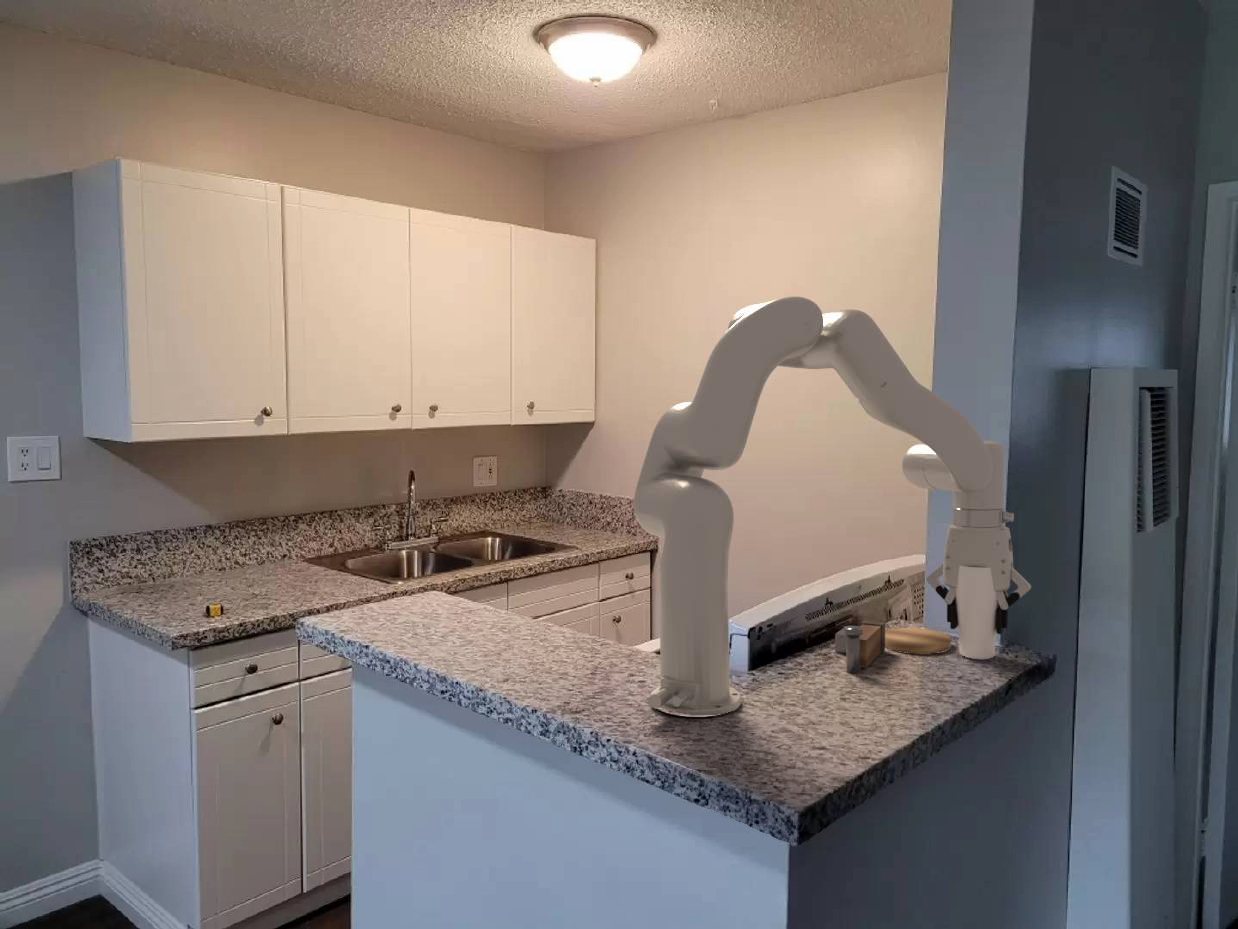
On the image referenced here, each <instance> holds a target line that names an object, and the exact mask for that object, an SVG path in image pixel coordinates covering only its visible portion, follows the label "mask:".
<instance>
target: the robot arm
mask: <svg viewBox="0 0 1238 929" xmlns="http://www.w3.org/2000/svg"><path fill="white" fill-rule="evenodd" d="M777 367H784V368H785V367H786V368H791V369H792V368H793V369H802V370H803V369H806V370H807V369H808V370H821V369H822V370H823V369H824V370H826V369H833V370H835V372H837V374H838V375H839V377H840V378H841V380H842V381H843V382H844V384H845V385H846V387H848V389H849V391H850V392H851V393H852V394H853V396H854V397H855V399H856V400H857V402H858V404H860V405H861V407H862V409H863V410H864V411H865V413H866V414H868V416H870V417H871V418H873V419H874V420H876V421H878V422H880V423H882V424H883V425H885V426H887V427H890V428H893V429H896V430H898V431H900V432H903V433H905V434H908V435H909V436H911V437H913V438H915V439H917V440H918V441H920V442H919V443H916V444H914V445H913V446H911V447H910V448H909V449H908V450H906V452H905V453H904V456H903V458H902V463H901V467H902V473H903V475H904V476H905V478H906V480H907V481H908V482H910V483H911V484H913V485H914V486H916V487H918V488H922V489H928V490H936V491H947V492H952V524H949V526H948V528H947V533H946V538H945V544H944V552H943V553H944V555H943V564H941V565H940V566H939V567H938V568H936V569H935V570H934V571H933V572H931V574H929V575H928V576H927V577H926V582H927V584H929V585H930V587H931V588H933V589H934V590H935V593H937V595H939V596H940V597H941V598H942V599H943V601H944V603H945V604H946V622H947V623H950V626H949V627H950V628H949V629H951V630H955V629H957V628H958V618H957V607H956V588H957V582H958V574H959V566H960V565H962V566H968V567H981V568H986V567H989V568H991V575H992V581H993V589H994V591H996V592H997V593H996V594H997V595H996V598H997V601H998V603H999V608H998V609H997V611H996V634H997V635H1002V634H1003V632H1004V631H1005V629H1008V627H1009V608H1010V607H1011V606H1012V605H1013V604H1015V603H1016V602H1017V601H1018V600H1019V599H1020V598H1022V597H1023V596H1025V594H1027V593H1028V592H1029V591H1030V590H1031V589H1032V584H1031V583H1029V582H1028V581H1027V580H1026V579H1025V577H1023V576H1022V574H1020V572H1018V571H1017V570H1016V569H1015V568H1014V556H1013V543H1012V537H1011V531H1010V528H1009V527H1007V526H1004V525H1005V524H1006V523H1009V522H1014V519H1015V518H1014V517H1015V514H1014V512H1009V511H1007V510H1005V499H1004V498H1005V497H1004V495H1005V449H1004V447H1003V445H1002V444H1001V443H1000V442H997V441H993V440H983V438H982V437H981V435H980V434H979V433H978V431H977V430H976V428H975V427H974V426H973V424H972V423H971V422H970V420H968V419H967V417H965V415H963V414H962V413H961V412H960V411H959V410H958V409H957V408H955V407H954V406H952V405H951V404H950V403H949V402H947V401H945V399H942V398H941V397H940V396H939V395H937V394H936V393H935V392H933V391H932V390H930V389H928V388H927V387H925V386H923V385H922V384H921V383H919V382H918V380H916V379H915V377H914V375H913V374H912V373H911V371H910V370H909V369H908V367H907V365H905V363H904V361H903V360H902V359H901V357H900V356H899V354H898V353H897V352H896V350H895V348H894V347H893V346H892V344H891V342H889V340H888V339H887V337H886V335H884V333H883V331H882V330H881V329H880V326H878V325H877V323H876V322H875V320H874V319H873V318H872V316H870V315H869V314H867V313H866V312H864V311H862V310H858V309H842V310H834V311H829V312H822V309H821V308H820V306H819V305H818V304H817V303H815V301H812V300H811V299H810V298H806V297H803V296H786V297H781V298H777V299H774V300H771V301H766V302H761V303H758V304H751V305H748V306H746V307H744V308H742V309H740V310H739V311H737V312H736V313H735V314H734V315H733V317H732V318H731V320H730V322H729V324H728V327H727V330H726V331H725V333H724V334H722V336H721V337H720V338H719V340H718V341H717V343H716V344H715V346H714V347H713V349H712V351H711V354H710V355H709V357H708V360H707V363H706V365H705V368H704V371H703V374H702V376H701V379H700V381H699V384H698V387H697V390H696V393H695V395H694V397H693V400H692V401H686V402H681V403H678V404H675V405H674V406H671V407H670V408H669V409H668V410H666V411H665V412H664V413H663V415H662V416H660V419H659V420H658V422H657V423H656V425H655V427H654V430H653V432H652V434H651V438H650V440H649V443H648V444H649V445H648V447H647V450H646V453H645V457H644V459H643V460H644V461H643V464H642V467H641V470H640V473H639V478H638V481H637V483H636V486H635V492H634V496H633V513H634V516H635V519H636V521H637V523H638V524H639V526H640V527H641V528H642V529H643V530H644V531H645V532H647V533H648V534H649V535H652V536H654V537H656V538H660V539H663V540H664V544H663V549H662V553H661V556H660V563H659V570H658V597H659V598H658V599H659V605H658V606H659V646H660V649H659V650H660V652H659V653H660V686H657V688H654V689H653V690H652V691H651V692H650V695H649V697H648V704H649V706H650V707H651V708H653V709H655V710H656V709H657V708H659V707H661V708H663V709H665V710H668V711H675V712H678V713H683V714H690V715H718V714H724V713H727V714H729V713H728V712H730V713H732V712H734V711H736V710H737V709H739V707H740V706H741V704H742V696H741V693H740V691H738V690H737V689H736V688H734V687H733V686H730V627H729V625H730V624H729V622H730V620H729V618H730V617H729V614H730V613H729V555H730V546H731V541H732V536H733V530H734V529H733V528H734V518H735V517H734V516H735V515H734V509H733V508H734V507H733V503H732V501H731V499H730V497H729V495H728V494H727V493H726V492H725V490H724V489H723V488H722V487H721V486H720V485H719V484H717V483H716V482H713V481H712V480H709V479H707V478H704V477H702V476H703V473H704V470H707V471H722V470H726V469H730V468H731V467H733V466H735V465H736V464H737V463H738V461H739V460H740V459H741V457H742V455H743V453H744V451H745V448H746V445H747V440H748V437H749V434H750V431H751V427H752V424H753V420H754V417H755V414H756V412H757V407H758V404H759V401H760V397H761V394H762V392H763V390H764V387H765V385H766V383H767V381H768V378H770V376H771V375H772V373H773V372H774V371H775V370H776V368H777ZM941 577H942V581H943V583H944V584H942V583H941V581H940V580H939V579H940V578H941ZM1014 583H1015V585H1017V589H1016V590H1014V591H1013V592H1011V593H1010V594H1009V595H1008V593H1007V591H1008V590H1009V588H1010V587H1011V586H1012V585H1013V584H1014ZM947 587H949V589H948V588H947ZM731 711H732V712H731ZM724 715H725V714H724Z"/></svg>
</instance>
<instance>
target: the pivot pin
mask: <svg viewBox="0 0 1238 929" xmlns="http://www.w3.org/2000/svg"><path fill="white" fill-rule="evenodd" d="M843 629H844V634H846V653H845V654H846V660H845V661H846V673H848V674H860V673H861V667H860V635H862V634H863V628H862V627H860V626H859V625H846V626H844V627H843Z"/></svg>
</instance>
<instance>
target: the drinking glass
mask: <svg viewBox="0 0 1238 929" xmlns="http://www.w3.org/2000/svg"><path fill="white" fill-rule="evenodd" d="M996 593H997V592H996V591H994V589H993V581H992V575H991V568H989V567H986V568H981V567H968V566H962V565H960V566H959V574H958V582H957V588H956V607H957V618H958V626H957V628H958V629H957V630H958V651H959V654H960V655H961V656H963V657H964V656H965V657H964V658H967V659H970V658H971V660H977V659H978V660H979V661H980V660H990V659H993V658H994V656H995V655H996V639H997V638H996V637H997V633H996V611H997V609H998V608H999V603H998V601H997V598H996V595H997V594H996Z"/></svg>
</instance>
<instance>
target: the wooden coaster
mask: <svg viewBox="0 0 1238 929" xmlns="http://www.w3.org/2000/svg"><path fill="white" fill-rule="evenodd" d="M950 647H951V648H952V638H951V636H950V635H948V634H947V633H944V632H942V631H940V630H936V629H929V628H919V627H900V628H899V627H898V628H891V629H887V630H885V649H886V648H887V649H889V650H891V651H894V650H896V651H895V652H898V651H901V652H900V653H903V652H906V653H905V654H909V653H916V654H915V655H928V654H927V653H937V652H942V651H945V650H948V649H950ZM950 650H951V649H950ZM907 652H908V653H907ZM917 653H918V654H917ZM921 653H922V654H921ZM924 653H926V654H924Z"/></svg>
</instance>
